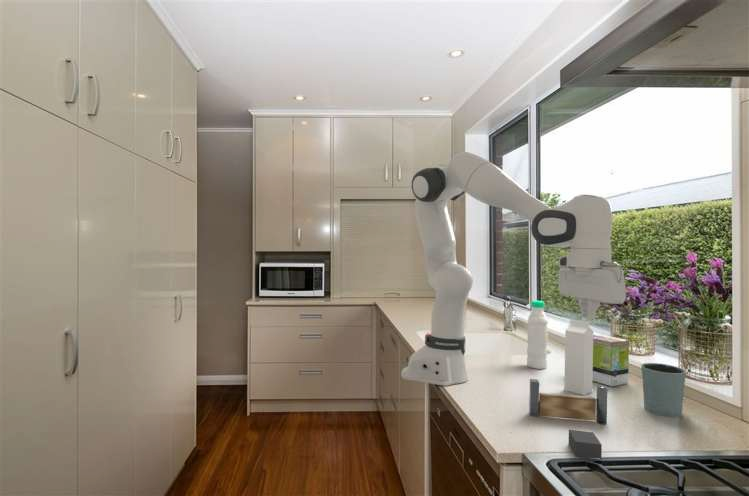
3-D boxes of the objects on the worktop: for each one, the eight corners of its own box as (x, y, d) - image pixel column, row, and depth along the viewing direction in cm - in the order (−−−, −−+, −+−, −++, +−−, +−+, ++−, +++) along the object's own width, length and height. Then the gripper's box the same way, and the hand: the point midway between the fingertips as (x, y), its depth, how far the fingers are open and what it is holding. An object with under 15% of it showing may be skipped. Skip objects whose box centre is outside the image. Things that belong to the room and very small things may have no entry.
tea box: (629, 383, 137) (630, 339, 137) (611, 387, 132) (612, 342, 132) (587, 371, 150) (588, 331, 150) (569, 374, 145) (570, 333, 146)
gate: (593, 418, 105) (594, 396, 105) (595, 420, 104) (596, 398, 104) (539, 414, 107) (539, 392, 107) (540, 416, 106) (540, 394, 106)
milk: (583, 395, 124) (584, 323, 124) (563, 389, 129) (565, 320, 129) (592, 391, 128) (594, 321, 128) (573, 386, 133) (574, 318, 133)
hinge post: (597, 423, 103) (598, 388, 103) (594, 419, 105) (595, 385, 106) (607, 424, 103) (608, 389, 103) (605, 421, 105) (605, 386, 105)
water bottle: (522, 365, 157) (524, 300, 157) (536, 363, 159) (538, 299, 160) (536, 370, 150) (538, 302, 150) (551, 368, 153) (552, 301, 153)
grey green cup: (684, 409, 114) (684, 366, 114) (686, 421, 106) (687, 375, 106) (640, 401, 120) (641, 360, 120) (640, 412, 111) (641, 368, 112)
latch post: (530, 415, 107) (531, 381, 107) (528, 411, 110) (529, 377, 110) (548, 417, 106) (548, 383, 106) (546, 413, 109) (546, 379, 109)
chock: (575, 458, 86) (575, 441, 86) (568, 445, 92) (568, 429, 92) (601, 461, 85) (601, 444, 85) (592, 448, 90) (593, 432, 90)
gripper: (634, 262, 89) (632, 326, 89) (576, 260, 109) (574, 311, 109) (608, 261, 88) (606, 325, 88) (554, 259, 109) (552, 311, 108)
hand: (588, 317), depth 99 cm, fingers closed
